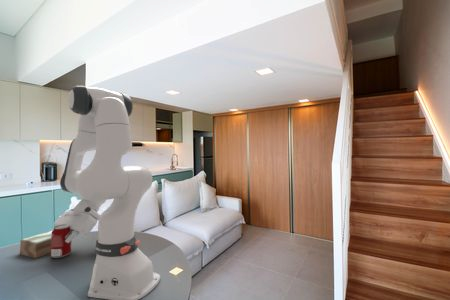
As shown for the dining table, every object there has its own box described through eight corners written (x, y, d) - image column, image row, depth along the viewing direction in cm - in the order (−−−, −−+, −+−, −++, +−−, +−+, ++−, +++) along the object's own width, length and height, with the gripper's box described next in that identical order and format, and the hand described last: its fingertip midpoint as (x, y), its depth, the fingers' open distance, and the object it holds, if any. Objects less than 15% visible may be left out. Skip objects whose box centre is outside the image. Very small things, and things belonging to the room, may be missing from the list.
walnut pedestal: (61, 248, 95) (62, 234, 95) (35, 258, 85) (36, 243, 86) (46, 244, 98) (47, 231, 98) (19, 253, 89) (20, 239, 89)
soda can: (59, 260, 84) (61, 229, 84) (46, 258, 85) (47, 228, 86) (75, 252, 90) (76, 224, 91) (62, 250, 92) (63, 222, 92)
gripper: (65, 204, 99) (39, 232, 90) (95, 210, 91) (69, 241, 81) (75, 212, 103) (51, 239, 94) (104, 217, 95) (80, 248, 85)
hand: (60, 240), depth 87 cm, fingers closed on soda can, 6 cm apart
